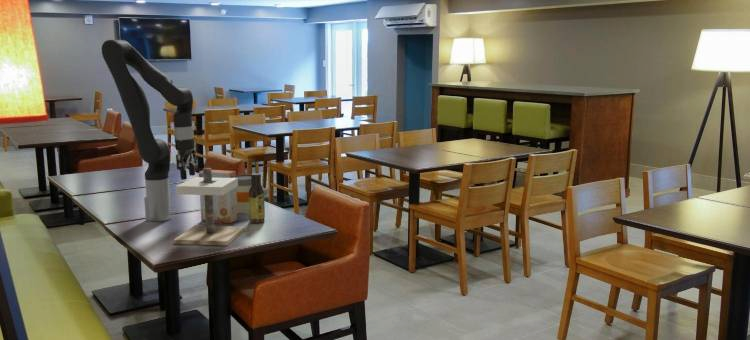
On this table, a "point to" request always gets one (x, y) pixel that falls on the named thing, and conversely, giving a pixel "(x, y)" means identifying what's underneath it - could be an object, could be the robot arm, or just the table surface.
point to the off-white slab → (207, 186)
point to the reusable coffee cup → (243, 193)
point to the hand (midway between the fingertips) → (188, 177)
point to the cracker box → (222, 200)
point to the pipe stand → (209, 225)
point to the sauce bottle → (256, 200)
